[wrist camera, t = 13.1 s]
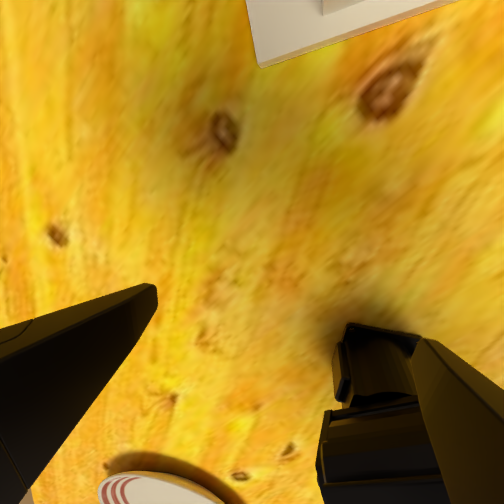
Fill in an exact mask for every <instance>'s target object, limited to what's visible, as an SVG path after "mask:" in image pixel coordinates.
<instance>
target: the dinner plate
mask: <svg viewBox="0 0 504 504" xmlns="http://www.w3.org/2000/svg"><path fill="white" fill-rule="evenodd" d="M98 498H99V501H100V503H101V504H225V503H224V502H223V501H221V500H220V499H219V498H218V497H217V496H216V495H214V494H213V493H212V492H210V491H209V490H208V489H206V488H204V487H203V486H201V485H199V484H197V483H195V482H193V481H191V480H189V479H186V478H184V477H180V476H177V475H174V474H169V473H163V472H150V471H128V472H122V473H118V474H115V475H112V476H110V477H107V478H106V479H104V480H103V481H102V482H101V484H100V485H99V488H98Z"/></svg>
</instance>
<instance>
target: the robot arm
mask: <svg viewBox="0 0 504 504" xmlns="http://www.w3.org/2000/svg"><path fill="white" fill-rule="evenodd" d="M157 307H158V297H157V288H156V286H155V285H153V284H148V283H143V284H139V285H136V286H133V287H130V288H127V289H124V290H121V291H118V292H114V293H111V294H108V295H105V296H102V297H99V298H96V299H93V300H90V301H86V302H83V303H80V304H77V305H74V306H71V307H68V308H65V309H61V310H58V311H55V312H52V313H49V314H46V315H43V316H40V317H37V318H35V319H34V320H33V319H30V320H27V321H24V322H21V323H18V324H14V325H11V326H8V327H5V328H1V329H0V504H19V503H20V501H21V500H22V499H23V497H24V496H25V494H26V493H27V492H28V489H29V488H30V487H31V486H32V485H33V483H34V482H35V481H36V479H37V478H38V477H39V475H40V474H41V472H42V471H43V470H44V468H45V467H46V466H47V464H48V463H49V462H50V460H51V459H52V458H53V456H54V455H55V453H56V452H57V451H58V449H59V448H60V447H61V445H62V444H63V443H64V441H65V440H66V439H67V437H68V436H69V435H70V433H71V432H72V430H73V429H74V428H75V426H76V425H77V424H78V422H79V421H80V420H81V418H82V417H83V416H84V414H85V413H86V411H87V410H88V409H89V407H90V406H91V405H92V403H93V402H94V401H95V399H96V398H97V397H98V395H99V394H100V393H101V391H102V390H103V388H104V387H105V386H106V384H107V383H108V382H109V380H110V379H111V378H112V376H113V375H114V374H115V372H116V371H117V370H118V368H119V367H120V365H121V364H122V363H123V361H124V360H125V359H126V357H127V356H128V355H129V353H130V352H131V351H132V349H133V348H134V346H135V345H136V343H137V342H138V340H139V339H140V337H141V335H142V334H143V332H144V330H145V328H146V327H147V325H148V323H149V322H150V320H151V318H152V317H153V315H154V313H155V312H156V310H157ZM350 328H354V329H353V330H350ZM417 342H418V343H417ZM332 372H333V384H334V396H335V399H336V400H337V401H338V402H342V409H339V410H334V411H332V410H326V411H325V412H324V418H323V423H322V429H321V434H320V439H319V445H318V450H317V457H316V463H315V466H316V471H317V482H318V485H319V487H320V490H321V494H322V497H323V501H324V504H504V390H503V389H502V388H500V387H499V386H498V385H496V384H495V383H494V382H492V381H491V380H490V379H488V378H487V377H486V376H484V375H483V374H481V373H480V372H479V371H477V370H476V369H475V368H473V367H472V366H471V365H469V364H468V363H467V362H465V361H464V360H463V359H461V358H460V357H459V356H457V355H456V354H455V353H453V352H452V351H451V350H449V349H448V348H447V347H445V346H444V345H443V344H441V343H440V342H438V341H437V340H433V339H428V338H422V337H420V336H415V335H410V334H405V333H400V332H395V331H390V330H385V329H380V328H375V327H370V326H365V325H360V324H355V323H349V324H347V325H346V327H345V330H344V334H343V337H342V341H341V342H338V343H337V345H336V349H335V352H334V356H333V359H332Z"/></svg>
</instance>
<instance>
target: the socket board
mask: <svg viewBox="0 0 504 504" xmlns="http://www.w3.org/2000/svg"><path fill="white" fill-rule="evenodd" d="M455 1H458V0H246V4H247V10H248V15H249V20H250V26H251V31H252V36H253V42H254V47H255V52H256V58H257V63H258V65H259V66H260V68H261V69H262V68H265V67H268V66H271V65H274V64H277V63H280V62H282V61H285V60H288V59H291V58H294V57H297V56H300V55H303V54H305V53H308V52H311V51H314V50H317V49H320V48H323V47H326V46H329V45H331V44H334V43H337V42H340V41H343V40H346V39H349V38H352V37H354V36H357V35H360V34H363V33H366V32H369V31H372V30H375V29H378V28H380V27H383V26H386V25H389V24H392V23H395V22H398V21H401V20H404V19H406V18H409V17H412V16H415V15H418V14H421V13H424V12H427V11H429V10H432V9H435V8H438V7H441V6H444V5H447V4H450V3H453V2H455Z"/></svg>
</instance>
